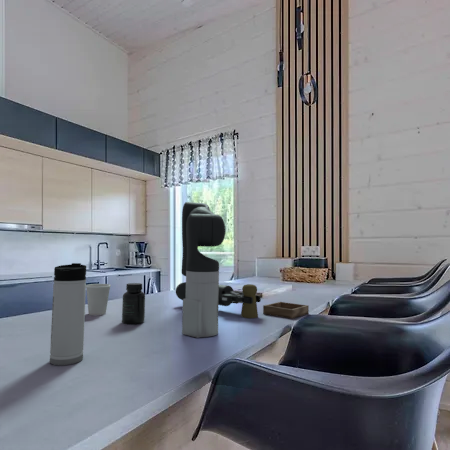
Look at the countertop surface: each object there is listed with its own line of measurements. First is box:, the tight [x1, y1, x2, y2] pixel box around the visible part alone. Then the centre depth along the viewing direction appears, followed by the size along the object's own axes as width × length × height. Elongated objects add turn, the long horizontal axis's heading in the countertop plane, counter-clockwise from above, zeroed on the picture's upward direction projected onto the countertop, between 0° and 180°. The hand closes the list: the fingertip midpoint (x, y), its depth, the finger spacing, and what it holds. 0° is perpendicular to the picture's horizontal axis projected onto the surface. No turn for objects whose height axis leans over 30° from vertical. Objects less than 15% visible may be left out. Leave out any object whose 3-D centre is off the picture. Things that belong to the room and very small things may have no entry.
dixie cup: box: [86, 283, 111, 316], centre depth 119 cm, size 8×8×10 cm
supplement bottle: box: [121, 282, 146, 326], centre depth 107 cm, size 7×7×12 cm
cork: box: [240, 283, 259, 319], centre depth 118 cm, size 6×6×11 cm
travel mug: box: [49, 262, 87, 366], centre depth 71 cm, size 6×7×20 cm
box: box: [262, 301, 310, 320], centre depth 123 cm, size 12×12×3 cm
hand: (256, 299), depth 116 cm, fingers closed on cork, 4 cm apart
